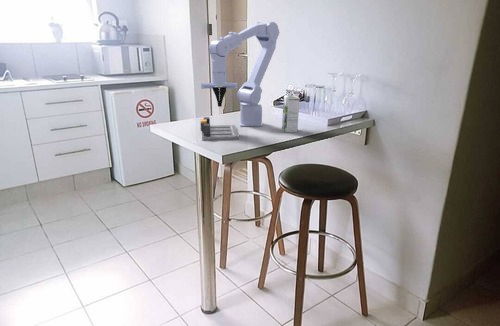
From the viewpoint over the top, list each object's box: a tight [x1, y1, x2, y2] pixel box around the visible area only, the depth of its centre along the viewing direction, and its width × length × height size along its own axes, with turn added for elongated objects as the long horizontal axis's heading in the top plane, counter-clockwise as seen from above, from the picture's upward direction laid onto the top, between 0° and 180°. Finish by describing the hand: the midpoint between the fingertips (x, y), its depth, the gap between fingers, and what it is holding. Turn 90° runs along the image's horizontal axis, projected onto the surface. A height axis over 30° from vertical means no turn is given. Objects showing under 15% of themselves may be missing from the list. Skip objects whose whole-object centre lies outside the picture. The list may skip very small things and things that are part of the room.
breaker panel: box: [201, 116, 240, 141], centre depth 145 cm, size 14×18×5 cm
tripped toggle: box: [200, 118, 207, 132], centre depth 144 cm, size 2×3×4 cm
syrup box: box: [281, 94, 301, 133], centre depth 149 cm, size 6×6×14 cm
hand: (219, 106), depth 148 cm, fingers closed
